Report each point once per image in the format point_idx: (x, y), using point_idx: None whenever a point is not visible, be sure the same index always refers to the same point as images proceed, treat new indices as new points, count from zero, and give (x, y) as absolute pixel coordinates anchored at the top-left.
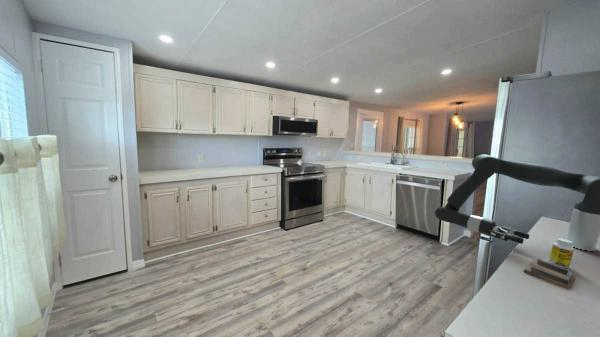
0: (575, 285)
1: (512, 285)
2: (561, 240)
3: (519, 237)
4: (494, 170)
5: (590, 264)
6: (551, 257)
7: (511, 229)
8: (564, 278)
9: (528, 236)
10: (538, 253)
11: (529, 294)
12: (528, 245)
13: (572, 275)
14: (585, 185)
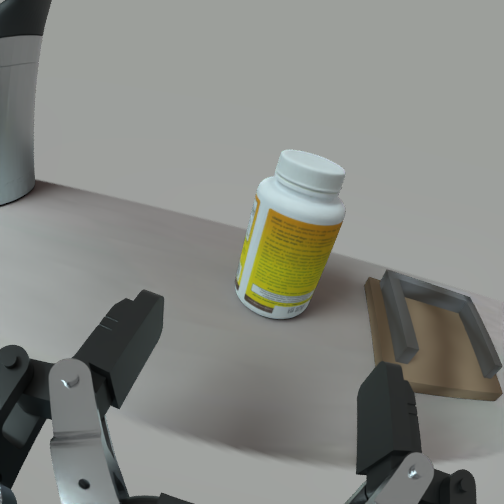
0: None
1: None
2: (340, 172)
3: (391, 387)
4: None
5: (157, 212)
6: (303, 294)
7: (106, 452)
8: (467, 301)
9: (161, 311)
10: (170, 337)
11: None
12: (45, 348)
13: (379, 282)
14: None
